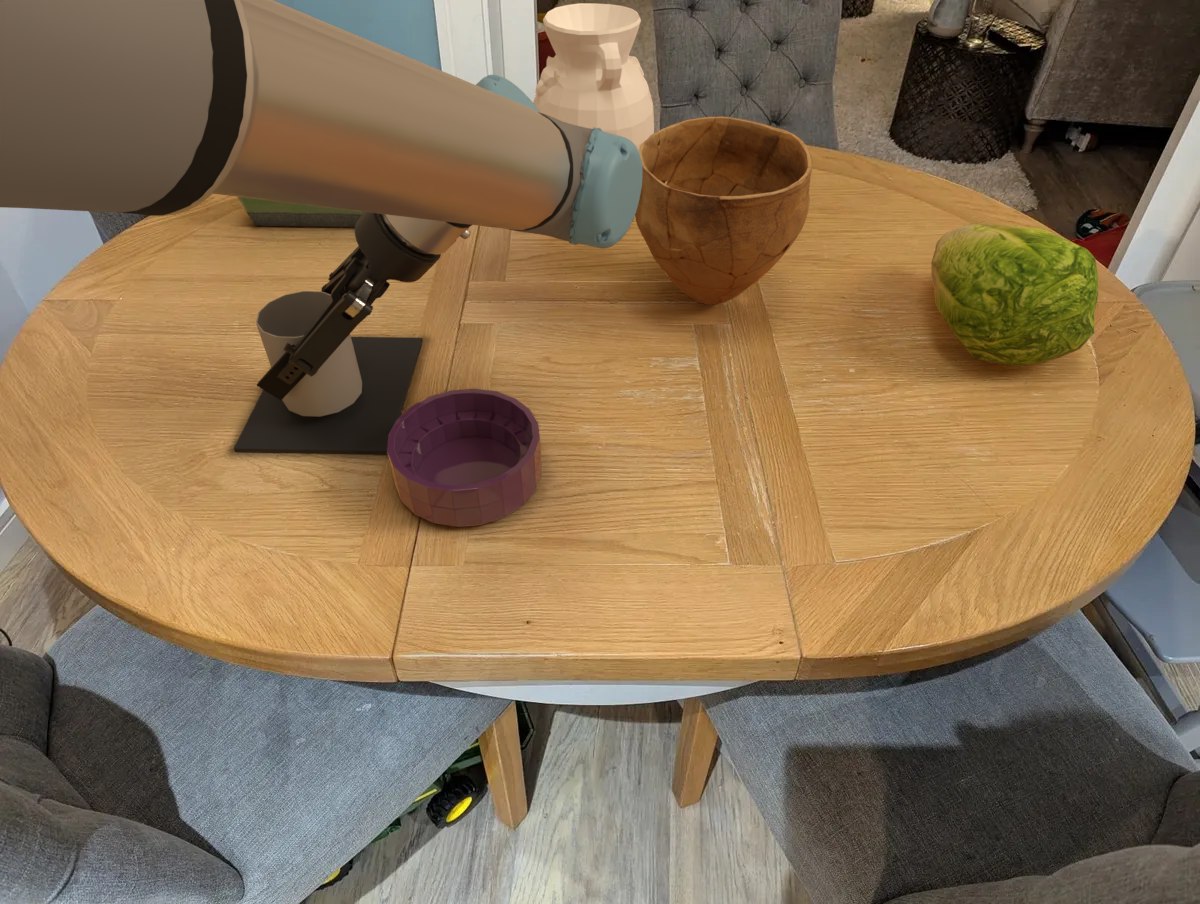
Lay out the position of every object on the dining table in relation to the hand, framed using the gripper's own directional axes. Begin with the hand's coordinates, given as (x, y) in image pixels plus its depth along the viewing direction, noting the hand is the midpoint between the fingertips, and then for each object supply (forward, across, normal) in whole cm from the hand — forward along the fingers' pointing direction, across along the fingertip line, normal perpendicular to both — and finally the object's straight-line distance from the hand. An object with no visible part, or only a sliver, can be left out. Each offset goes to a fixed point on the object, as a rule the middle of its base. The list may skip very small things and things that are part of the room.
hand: (283, 363), depth 85 cm
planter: (+8, +43, 0) cm, 44 cm away
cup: (0, 0, -5) cm, 5 cm away
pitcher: (-18, +54, -26) cm, 63 cm away
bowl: (-29, +22, -38) cm, 52 cm away
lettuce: (-53, +17, -62) cm, 83 cm away
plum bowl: (-10, -10, -18) cm, 24 cm away
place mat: (+2, +2, -7) cm, 7 cm away
